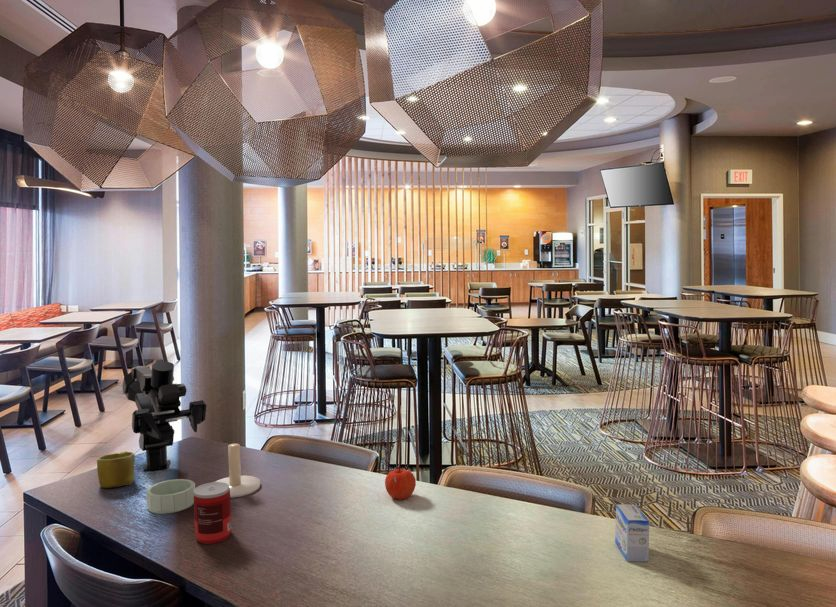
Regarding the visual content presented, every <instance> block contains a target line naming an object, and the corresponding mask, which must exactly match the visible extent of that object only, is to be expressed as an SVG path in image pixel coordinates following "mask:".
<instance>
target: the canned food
mask: <svg viewBox="0 0 836 607" xmlns="http://www.w3.org/2000/svg"><path fill="white" fill-rule="evenodd" d="M193 494H194V504H193V515H194V536H195V539H196V541H197V542H198V543H200V544H205V545H212V544H213V545H214V544H217V543H221V542H224V541H225V540H227V539H228V538H229V537H230V535H231V532H232V513H231V512H232V511H231V507H232V506H231V498H230V488H229V485H228V484H227V483H223V482H215V481H212V482H207V483H203V484H201V485H198V486H195V489H194V493H193Z"/></svg>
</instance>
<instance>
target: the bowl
mask: <svg viewBox="0 0 836 607" xmlns="http://www.w3.org/2000/svg"><path fill="white" fill-rule="evenodd" d="M195 488H196V483H195V482H194V481H193V480H191V479H185V478H184V479H183V478H176V479H166V480H164V481H160V482H157V483H155V484H152V485H151V486H149V487H148V488H147V490H146V493H145V494H146V505H147V506H146V507H147V510H148V511H149V513H152V514H156V515H165V514H166V515H167V514H172V513H174V514H175V513H179V512H182V511H186V510H187V509H190V508H191V507H192V506H194V494H193V493H194V489H195Z"/></svg>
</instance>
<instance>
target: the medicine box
mask: <svg viewBox="0 0 836 607" xmlns="http://www.w3.org/2000/svg"><path fill="white" fill-rule="evenodd" d="M615 507H616V508H615V532H614V533H615V535H614V537H615V538H614V543H615V545H616V546H617V547H618V549H619V551H620V552H621V554H622V555H623V557H624V559H625V560H626V561H627V562H632V563H633V562H634V563H636V562H637V563H645V562H646V563H647V562H649V558H650V557H649V556H650V553H649V552H650V551H649V550H650V521H649V520H648V518H647V517H646V516H645V515H644V514H643V512H642V511H641V510H640V508H639V507H638V505H636V504H616V506H615Z"/></svg>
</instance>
